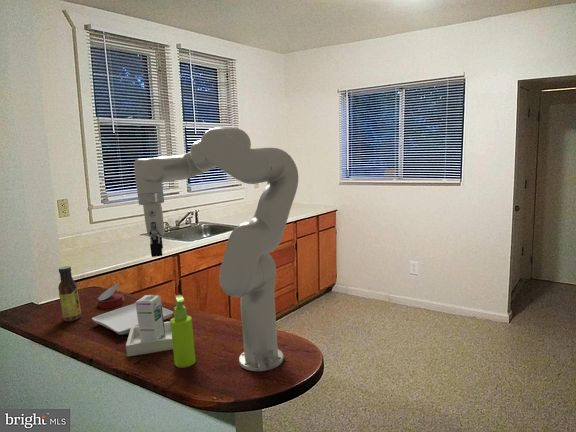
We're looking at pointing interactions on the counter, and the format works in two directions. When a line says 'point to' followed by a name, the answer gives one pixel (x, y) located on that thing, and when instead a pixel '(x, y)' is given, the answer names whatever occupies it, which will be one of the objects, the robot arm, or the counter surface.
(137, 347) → the tray
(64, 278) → the sauce bottle
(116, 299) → the canned food
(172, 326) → the soap dispenser
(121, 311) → the salad plate
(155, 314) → the syrup box
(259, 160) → the robot arm
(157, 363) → the counter surface
